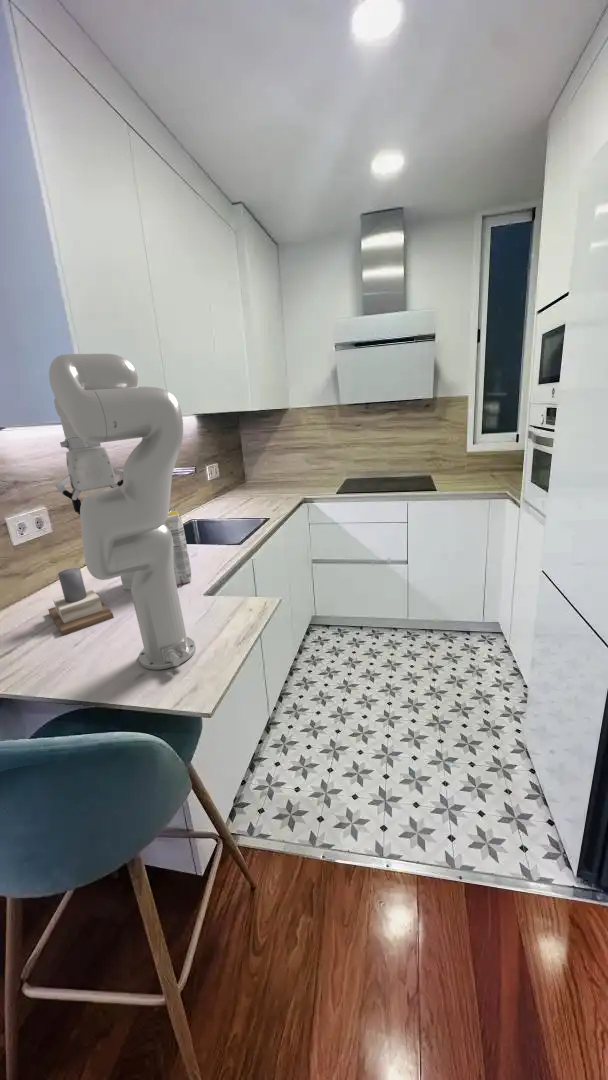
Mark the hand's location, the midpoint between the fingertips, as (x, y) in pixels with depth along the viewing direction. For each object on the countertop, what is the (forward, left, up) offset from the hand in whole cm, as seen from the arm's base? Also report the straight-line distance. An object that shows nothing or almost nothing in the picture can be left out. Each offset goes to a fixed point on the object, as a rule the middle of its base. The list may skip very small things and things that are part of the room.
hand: (100, 510), depth 115 cm
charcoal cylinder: (+8, +10, -25) cm, 28 cm away
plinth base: (+8, +10, -30) cm, 33 cm away
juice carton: (+9, -20, -30) cm, 38 cm away
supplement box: (+17, -10, -30) cm, 36 cm away
